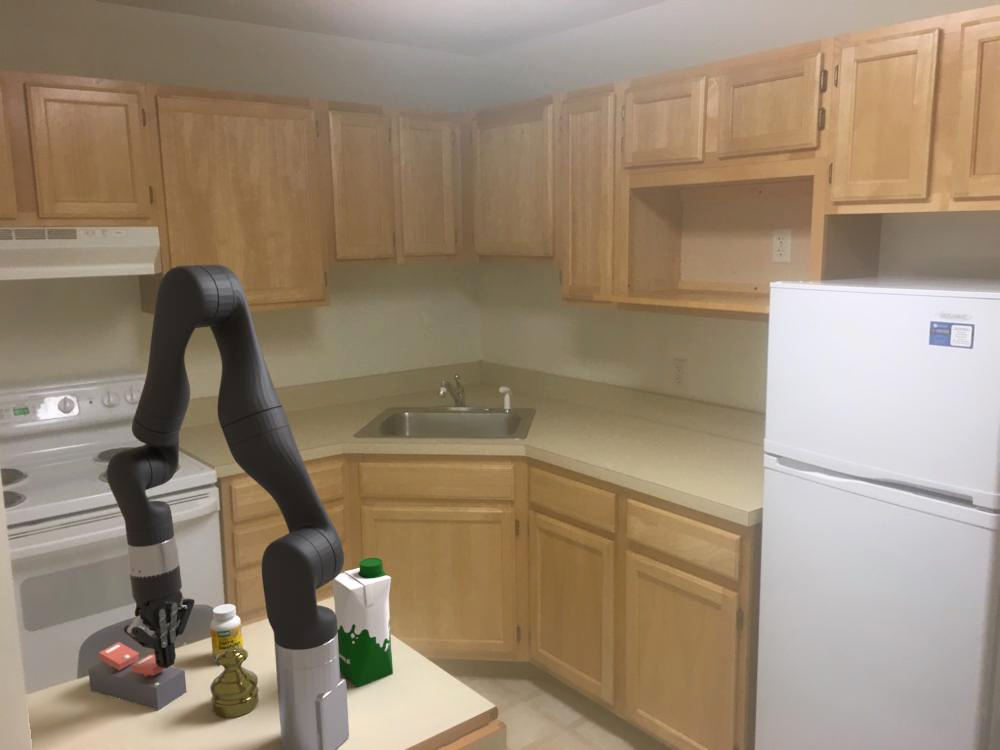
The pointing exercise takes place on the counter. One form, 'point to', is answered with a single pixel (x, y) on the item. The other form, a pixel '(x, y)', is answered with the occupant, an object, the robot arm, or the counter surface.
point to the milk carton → (363, 622)
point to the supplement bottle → (225, 629)
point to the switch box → (138, 684)
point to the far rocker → (118, 656)
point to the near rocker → (147, 666)
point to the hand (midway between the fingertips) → (166, 665)
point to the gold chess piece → (234, 685)
